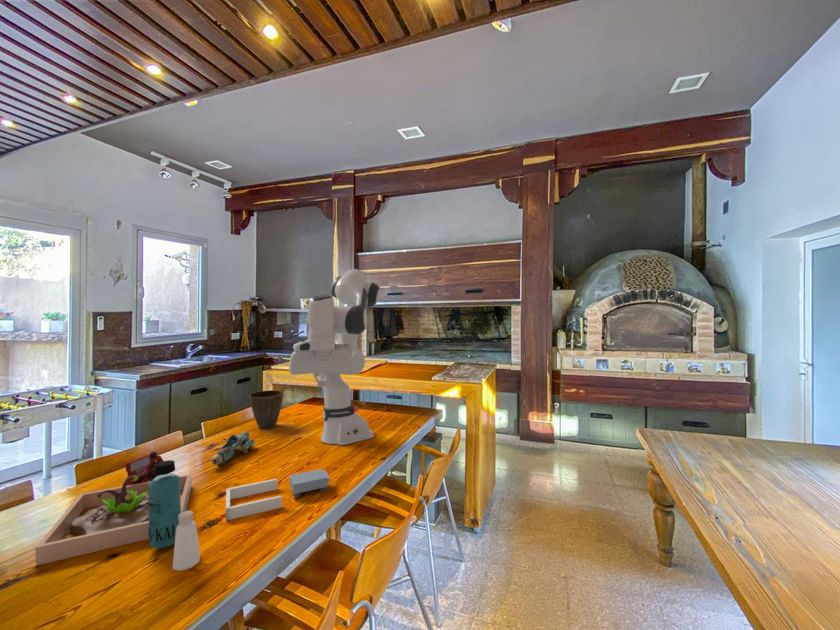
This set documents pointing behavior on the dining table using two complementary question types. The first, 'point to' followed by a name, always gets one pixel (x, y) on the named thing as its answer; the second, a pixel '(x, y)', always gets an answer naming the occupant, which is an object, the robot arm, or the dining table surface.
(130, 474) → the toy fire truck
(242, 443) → the hoverbike
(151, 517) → the beverage bottle
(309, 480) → the short grey brick
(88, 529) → the plant
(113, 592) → the dining table surface
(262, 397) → the plant pot
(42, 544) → the planter tray
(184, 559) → the pepper shaker
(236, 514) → the bay
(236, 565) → the dining table surface
